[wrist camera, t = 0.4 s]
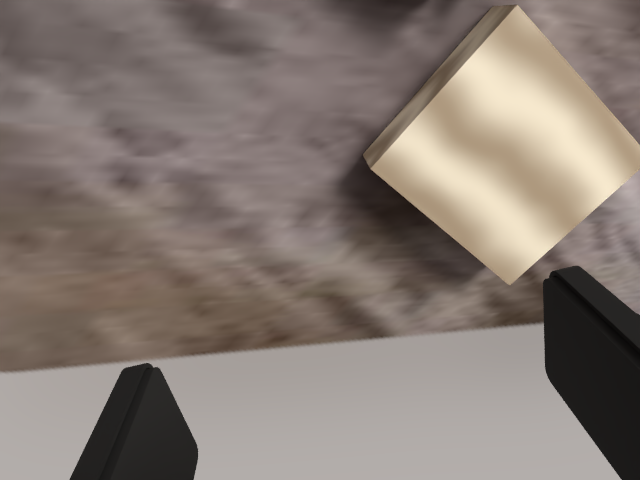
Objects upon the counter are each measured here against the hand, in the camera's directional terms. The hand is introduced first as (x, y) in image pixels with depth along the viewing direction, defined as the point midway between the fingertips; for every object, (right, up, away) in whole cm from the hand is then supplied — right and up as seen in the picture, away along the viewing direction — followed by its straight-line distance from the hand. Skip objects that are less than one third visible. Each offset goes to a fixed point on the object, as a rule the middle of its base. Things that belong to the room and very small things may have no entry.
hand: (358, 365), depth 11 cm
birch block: (+13, +10, +27) cm, 32 cm away
